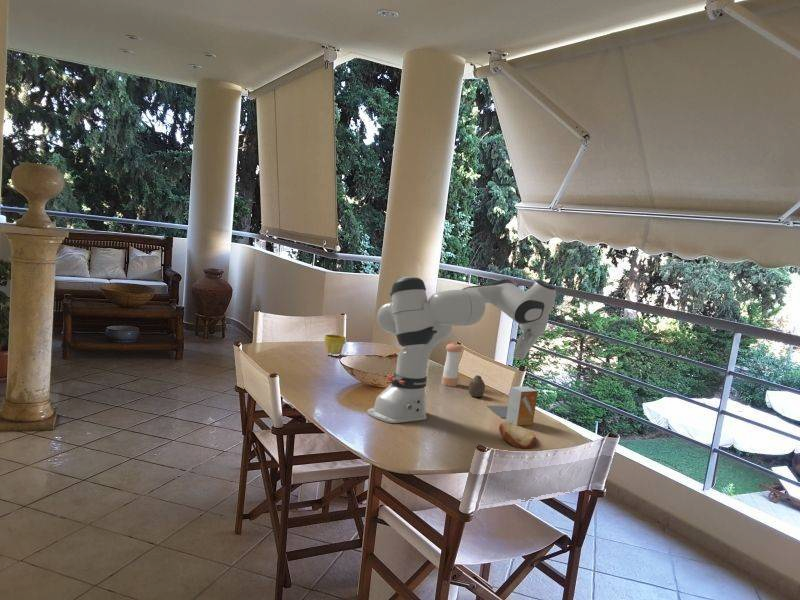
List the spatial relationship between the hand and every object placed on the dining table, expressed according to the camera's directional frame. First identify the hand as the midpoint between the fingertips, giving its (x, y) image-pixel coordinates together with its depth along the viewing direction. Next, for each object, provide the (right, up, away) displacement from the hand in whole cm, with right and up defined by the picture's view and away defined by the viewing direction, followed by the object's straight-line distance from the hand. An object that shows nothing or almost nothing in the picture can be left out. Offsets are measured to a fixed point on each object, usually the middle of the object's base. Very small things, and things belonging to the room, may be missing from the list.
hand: (522, 358), depth 210 cm
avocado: (-12, -20, +40) cm, 46 cm away
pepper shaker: (-21, -17, +55) cm, 61 cm away
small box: (+1, -25, +10) cm, 27 cm away
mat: (-2, -23, +21) cm, 31 cm away
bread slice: (-4, -27, -7) cm, 28 cm away
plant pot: (-77, -7, +87) cm, 117 cm away
